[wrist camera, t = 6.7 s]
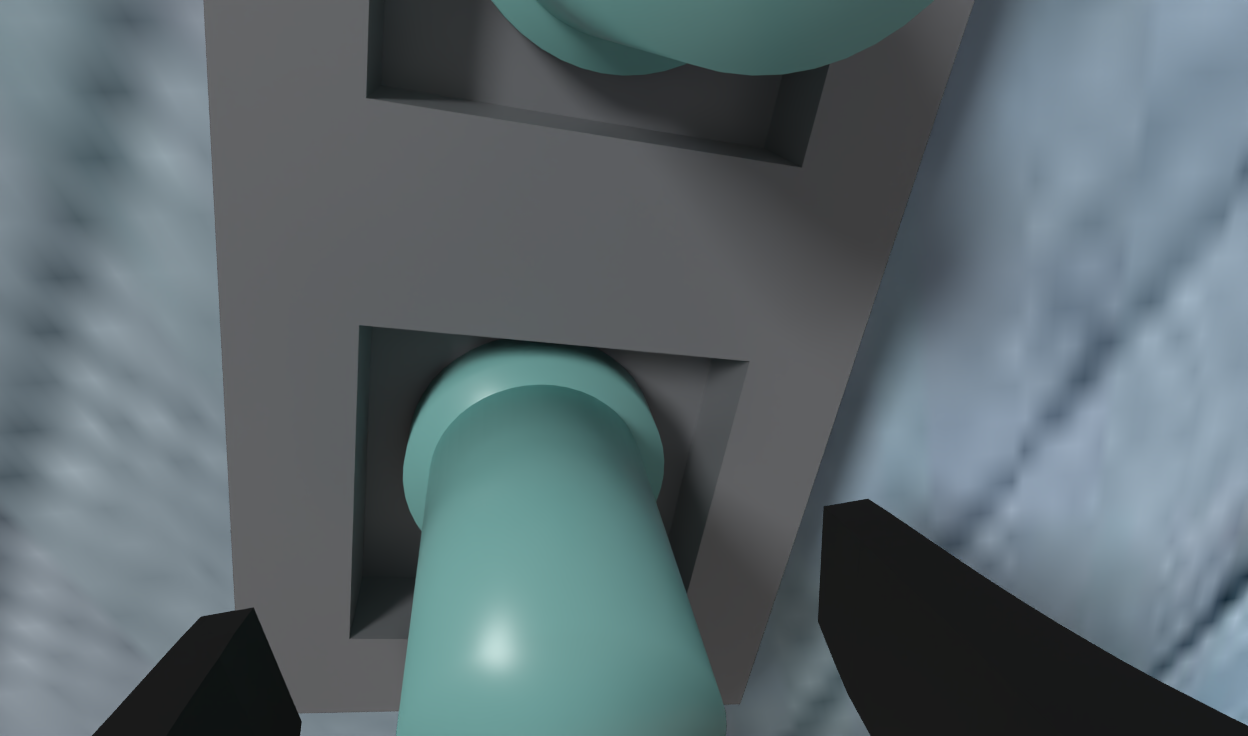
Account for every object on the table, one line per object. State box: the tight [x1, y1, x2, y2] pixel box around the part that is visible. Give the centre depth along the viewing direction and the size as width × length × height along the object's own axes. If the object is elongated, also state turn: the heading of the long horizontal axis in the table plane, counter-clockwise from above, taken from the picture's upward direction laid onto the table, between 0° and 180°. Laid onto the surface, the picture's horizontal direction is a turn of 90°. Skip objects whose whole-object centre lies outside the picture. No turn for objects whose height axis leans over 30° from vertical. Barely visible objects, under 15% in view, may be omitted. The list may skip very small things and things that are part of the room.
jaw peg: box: [396, 338, 727, 736], centre depth 10 cm, size 4×4×6 cm
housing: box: [204, 0, 975, 713], centre depth 11 cm, size 9×17×2 cm, turn 170°
